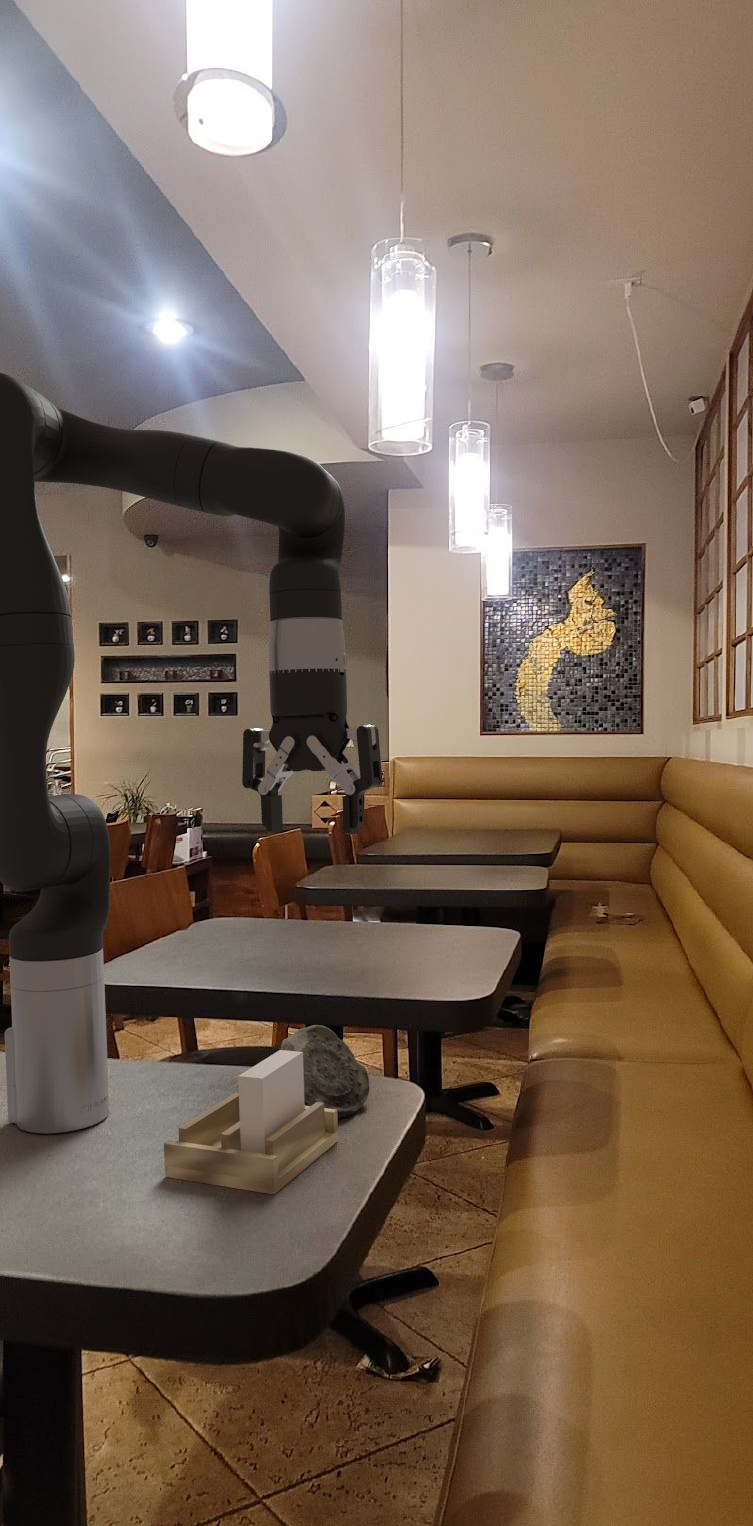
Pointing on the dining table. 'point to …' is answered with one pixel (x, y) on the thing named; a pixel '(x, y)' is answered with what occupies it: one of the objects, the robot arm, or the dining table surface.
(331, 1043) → the fossil
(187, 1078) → the dining table surface
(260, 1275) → the dining table surface
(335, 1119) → the rack
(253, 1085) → the upright cream slab
